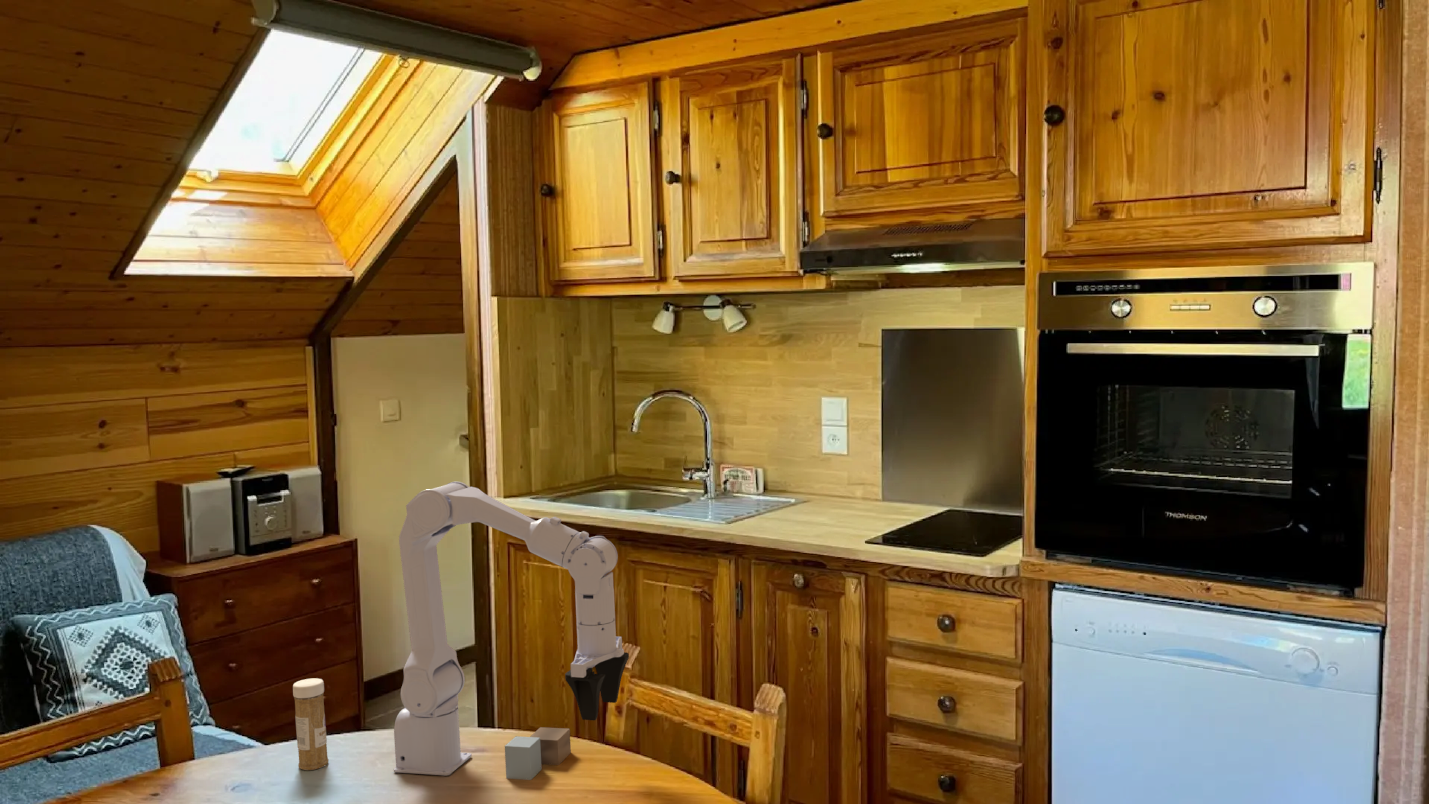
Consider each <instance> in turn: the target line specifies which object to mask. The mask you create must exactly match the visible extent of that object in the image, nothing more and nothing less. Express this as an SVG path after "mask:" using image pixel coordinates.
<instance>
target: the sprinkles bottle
mask: <svg viewBox="0 0 1429 804" xmlns="http://www.w3.org/2000/svg"><path fill="white" fill-rule="evenodd" d="M324 692H325V683H324V680H323V679H322V678H318V677H316V678H306V679H301V680H298V681H296V682H294V683H293V685H292V696H293V699H294V709H295V715H294V716H295V717H294V718H295V730H296V745H297V748H298V749H297V750H298V768H299V769H300V770H304V771H313V770H318V769H321V768H323V767H325V766H327V765H328V764H329V758H328V746H327V742H328V741H327V739H328V738H327V727H326V726H327V725H326V714H325V705H324Z"/></svg>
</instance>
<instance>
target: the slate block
mask: <svg viewBox="0 0 1429 804" xmlns="http://www.w3.org/2000/svg"><path fill="white" fill-rule="evenodd" d="M504 759H505V776H506V777H505V779H512V780H525V781H526V780H528V781H531V780H533V778H534V777H536V775H537V774H539V773H540V771H542V764H541V746H540V738H538V737H530V736H514V737H513V738H512V739H511V740H510V741H509V742H508V743H506V744H505V745H504Z"/></svg>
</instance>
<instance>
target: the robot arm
mask: <svg viewBox="0 0 1429 804" xmlns="http://www.w3.org/2000/svg"><path fill="white" fill-rule="evenodd" d="M405 507H406V516H405V519H404V521H403V525H402V527H401V530H400V533H399V536H398V537H399V538H398V545H399V551H400V552H399V553H400V560H401V562H400V563H401V568H402V569H401V570H402V579H403V587H404V589H403V590H404V596H405V605H406V613H407V621H408V623H407V624H408V631H409V632H408V633H409V638H410V647H411V651H410V654H409V656H408V657H407V660H406V663H405V665H404V667H403V670H402V671H403V681H402V686H401V688H400V699H401V703H402V705H403V707H404V708H402V709H401V710H400V711H399V713H398V714H397V716H396V718H395V722H394V728H393V738H394V739H393V740H394V754H395V767H394V768H393V772H394V773H401V774H402V773H403V774H417V775H418V774H419V775H433V776H450V775H452V774H453V772H455V771H456V770H457V769H458V768H459V767H461V766H462V765H463V764H464V763H466V762H467V761H468V760H469V759H471V757H472V754H473V753H471V752H462V750H461V736H460V735H461V734H460V733H461V731H460V717H459V716H460V715H459V694H460V693H461V692H462V690H463V688H464V687H465V683H466V681H465V680H466V679H465V673H464V670H463V668H462V666H460V663H459V661H458V657H457V656H458V655H457V651H456V650H455V649H454V648H452V646H451V645H449V643H448V637H447V630H446V629H447V628H446V618H445V612H444V601H443V594H442V593H443V591H442V585H441V584H442V583H441V575H440V567H439V565H440V564H439V556H438V548H437V545H438V544H439V543H440V542H441V540H443V538H444V537H445V536H446V535H447V534H448V532H450V531H451V529H453V528H454V527H456V526H458V525H459V526H460V525H465V524H471V523H480V524H483V525H485V526H488V527H490V528H491V529H492V528H493V529H495V530H497V531H500V532H503V533H505V534H508V535H510V536H512V537H514V538H515V537H516V538H517V539H520V540H523V541H524V542H525V544H526V547H527V549H528V551H529V552H530V553H531V554H534V555H536V556H538V557H540V558H542V559H545V560H547V562H548V561H549V562H551V563H552V564H554V565H557V566H559V567H561V568H563V569H565V570H568V572H569V575H570V577H572V578H573V581H574V586H575V589H574V592H575V593H574V595H575V615H576V616H575V618H576V636H577V638H576V640H577V641H576V642H577V649H576V652H575V656H574V659H573V661H572V662H571V663H570V670H568V671H567V672H565V674H564V678H565V681H566V683H567V684H568V686H569V688H570V689H571V691H572V693H573V694H574V697H575V698H574V699H575V700H576V703H577V707H578V710H579V712H580V716H581V719H582V720H583V721H596V720H597V719H598V715H599V707H600V706H599V704H600V696H601V700H602V702H603V703H611V704H616V703H617V701H618V699H619V693H620V687H621V686H620V685H621V682H622V677H623V673H624V670H625V668H626V665H627V663H628V661H629V658H630V654H629V653H628V652H627V651H626V652H625V649H623V639H622V638H623V637H622V636H617V633H616V632H617V630H616V629H617V627H616V611H615V610H616V609H615V606H616V605H615V589H614V572H613V570H614V569H615V567H616V565H617V563H618V559H619V558H618V557H619V556H618V551H617V548H616V546H615V545H614V544H613V543H612V541H611V540H609V539H607V538H606V537H605V536H604V535H595V536H591V537H589V536H590V534H589V532H587V531H585V530H582V531H581V532H580V531H578V530H576V529H575V528H572V527H569V526H567V525H565V524H562V523H561V522H562V518H559V517H558V516H553V517H547V516H545V517H542V518H539V519H538V520H535V519H534V518H531V517H529V516H528V515H525V514H523V513H522V512H520V511H518V510H516V509H514V508H512V507H510V506H509V505H507V504H504V503H503V502H501V501H499V500H497V499H495V498H493V497H492V496H490V495H488V494H486V492H483V491H482V490H481V489H479V488H478V487H474V486H469V485H468V484H466V483H465V482H462V481H451V482H449V483H447V484H443V485H442V486H438V487H437V486H436V487H433V488H427V489H424V490H421V491H419V492H418V493H416V495H415V496H414V497H413V498H412V499H411V500H410V501H409V502H408V503H406V505H405ZM594 668H595V671H596V673H595V671H593V669H594Z"/></svg>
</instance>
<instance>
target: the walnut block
mask: <svg viewBox="0 0 1429 804" xmlns="http://www.w3.org/2000/svg"><path fill="white" fill-rule="evenodd" d="M529 737H538V738H540V746H541V765H551V766H552V765H554V766H559V765H560V764H561V763H562V762H563V761H565V759H566V758H567V757H568V756H569V755H570V754H571V753H572V749H571V747H572V746H571V745H572V744H571V730H570V728H563V727H562V728H561V727H559V728H558V727H541V726H540V727H539V728H538V729H537V730H536V731H534V732H533V733H532V734H531V735H530V736H529Z"/></svg>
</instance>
